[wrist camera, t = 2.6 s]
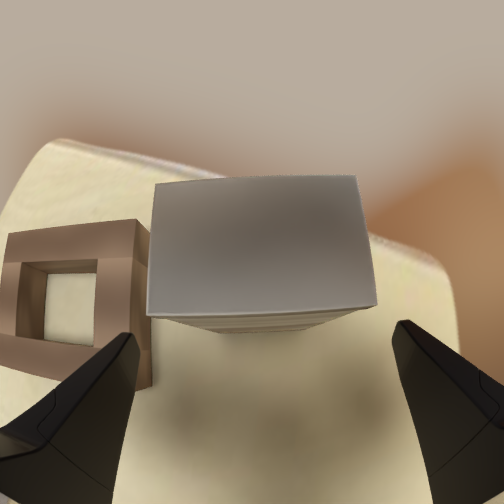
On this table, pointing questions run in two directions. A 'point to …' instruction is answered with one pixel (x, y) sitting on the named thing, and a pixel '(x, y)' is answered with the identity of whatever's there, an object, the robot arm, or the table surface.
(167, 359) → the table surface
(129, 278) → the walnut groove block
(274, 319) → the grey wooden tall block
